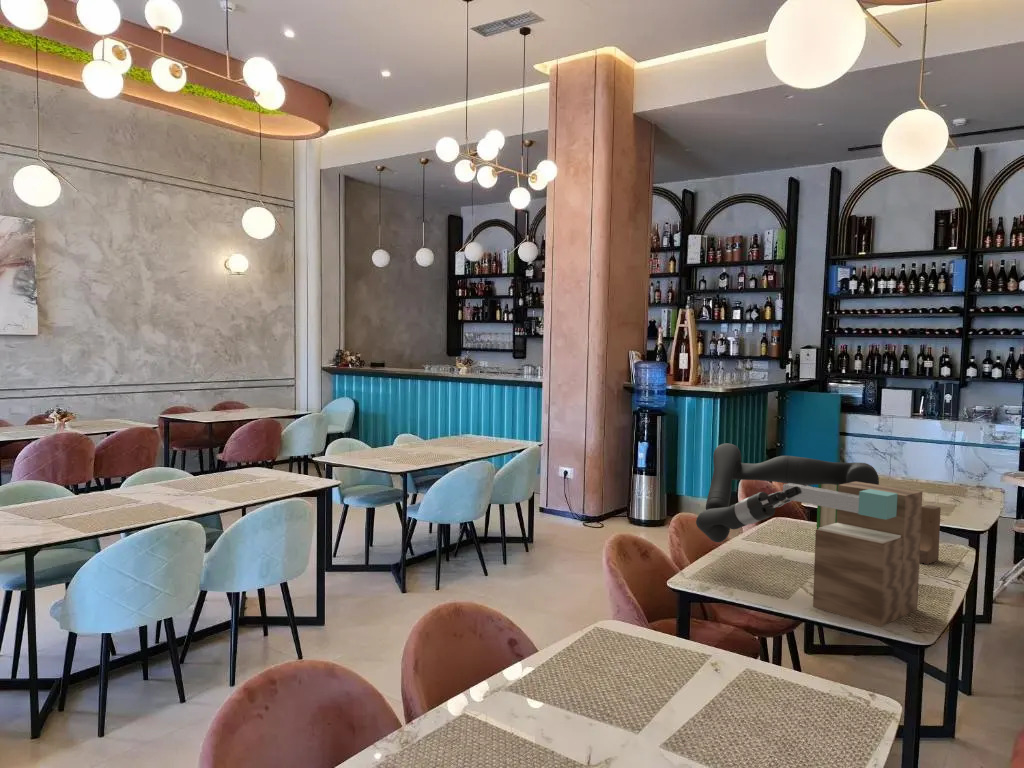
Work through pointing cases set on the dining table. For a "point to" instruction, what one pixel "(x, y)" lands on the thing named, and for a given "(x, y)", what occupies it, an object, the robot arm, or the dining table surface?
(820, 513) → the hardback book
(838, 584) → the stepped wooden riser
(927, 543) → the wooden block
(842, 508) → the mallet
